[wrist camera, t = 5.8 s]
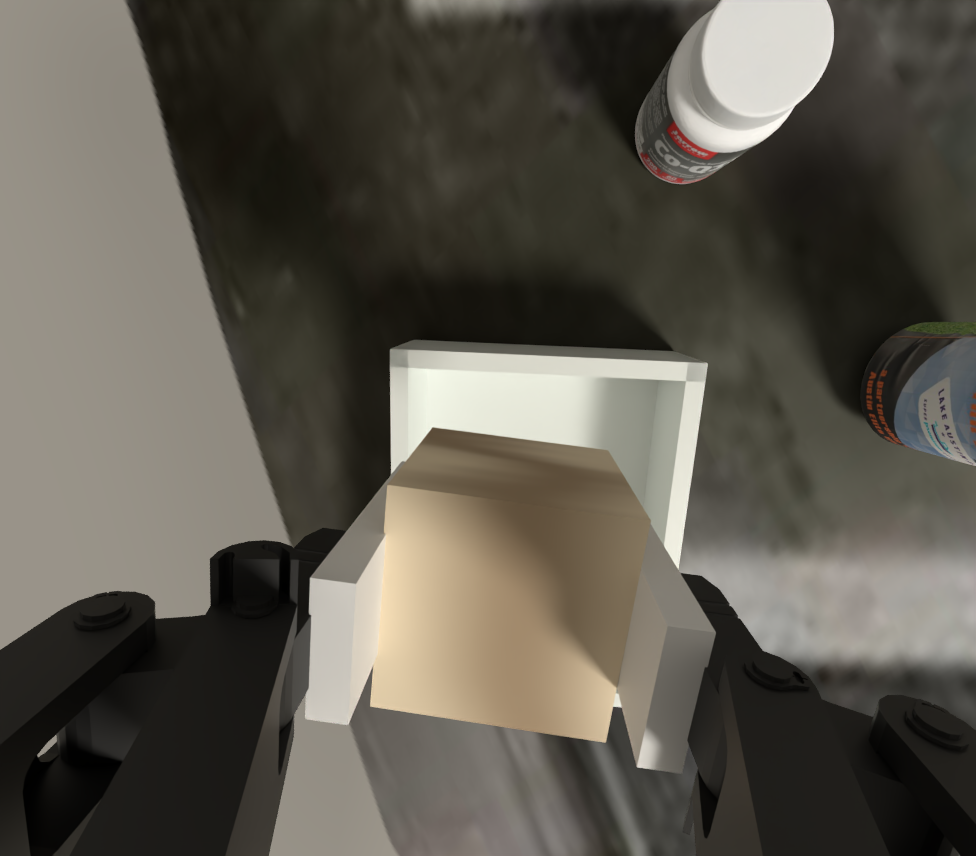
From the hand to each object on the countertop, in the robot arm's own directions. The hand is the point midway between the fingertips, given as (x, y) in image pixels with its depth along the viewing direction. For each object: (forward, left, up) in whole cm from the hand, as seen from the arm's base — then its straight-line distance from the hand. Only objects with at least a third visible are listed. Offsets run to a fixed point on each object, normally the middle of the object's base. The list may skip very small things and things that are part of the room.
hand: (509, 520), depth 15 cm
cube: (0, 0, 0) cm, 0 cm away
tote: (+5, +1, -14) cm, 15 cm away
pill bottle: (-14, +7, -14) cm, 21 cm away
